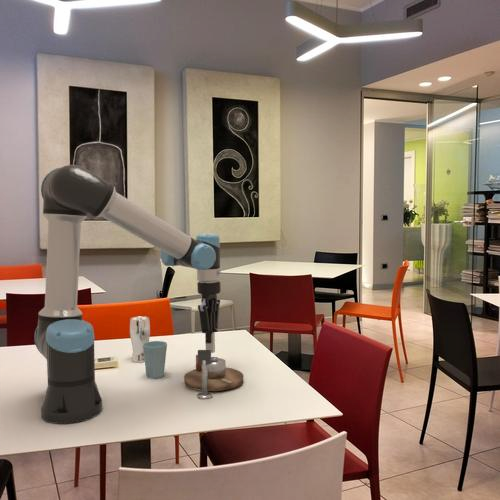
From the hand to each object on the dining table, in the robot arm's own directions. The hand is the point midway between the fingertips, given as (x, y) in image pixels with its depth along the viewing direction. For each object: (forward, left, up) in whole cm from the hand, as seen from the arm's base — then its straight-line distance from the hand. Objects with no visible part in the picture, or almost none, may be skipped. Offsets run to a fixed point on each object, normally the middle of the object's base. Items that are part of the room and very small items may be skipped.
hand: (210, 352), depth 171 cm
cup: (-17, +7, -6) cm, 19 cm away
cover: (-7, -11, -4) cm, 14 cm away
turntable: (-7, -11, -6) cm, 15 cm away
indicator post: (-16, -19, -6) cm, 26 cm away
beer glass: (-12, +26, -6) cm, 29 cm away
